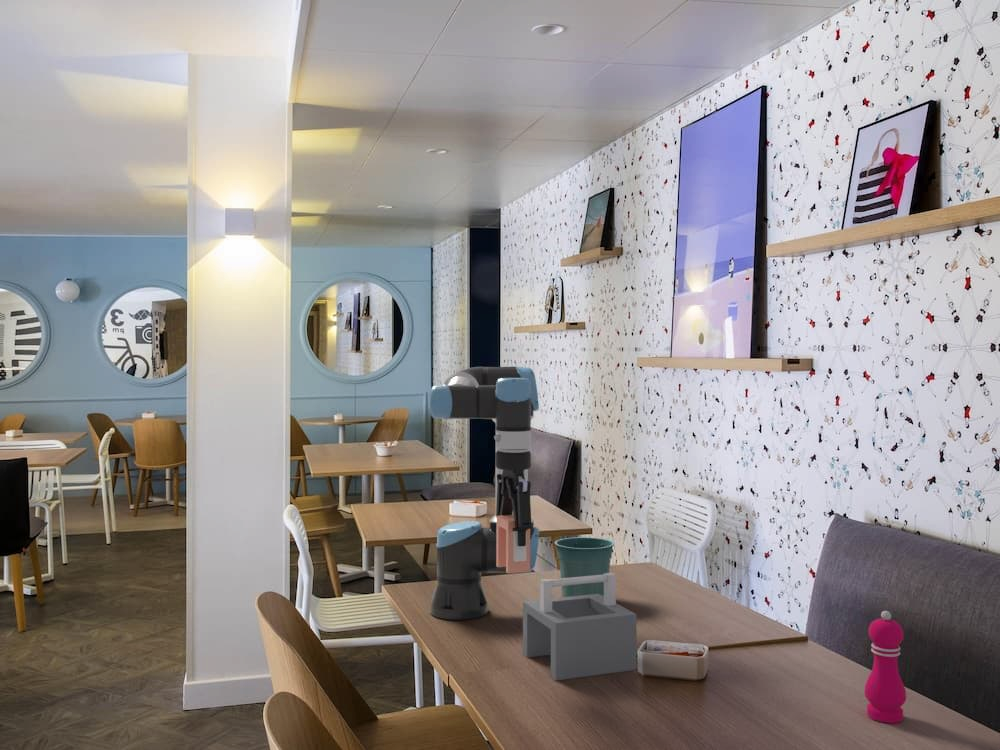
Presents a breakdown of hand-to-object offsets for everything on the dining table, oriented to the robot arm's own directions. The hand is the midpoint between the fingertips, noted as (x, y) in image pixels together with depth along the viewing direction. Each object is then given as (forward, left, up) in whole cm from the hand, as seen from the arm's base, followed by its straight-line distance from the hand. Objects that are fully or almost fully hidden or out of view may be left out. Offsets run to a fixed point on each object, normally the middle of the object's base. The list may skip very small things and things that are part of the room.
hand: (513, 556), depth 196 cm
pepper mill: (+48, +56, -25) cm, 78 cm away
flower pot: (-45, +39, -25) cm, 64 cm away
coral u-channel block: (0, 0, -3) cm, 3 cm away
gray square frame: (0, +15, -24) cm, 29 cm away
